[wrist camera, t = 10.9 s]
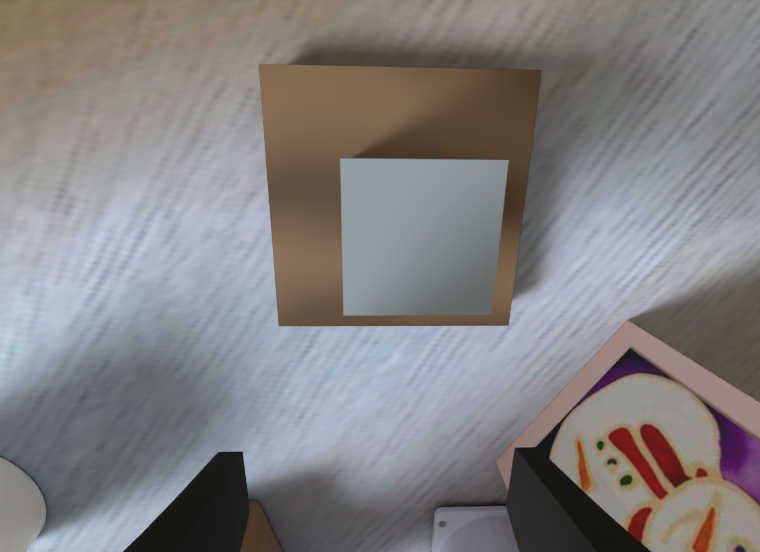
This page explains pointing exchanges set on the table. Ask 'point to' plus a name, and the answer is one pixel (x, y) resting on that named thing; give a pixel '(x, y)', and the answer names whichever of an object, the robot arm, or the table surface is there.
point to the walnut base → (382, 140)
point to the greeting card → (657, 446)
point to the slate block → (420, 235)
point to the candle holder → (19, 509)
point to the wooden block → (259, 532)
